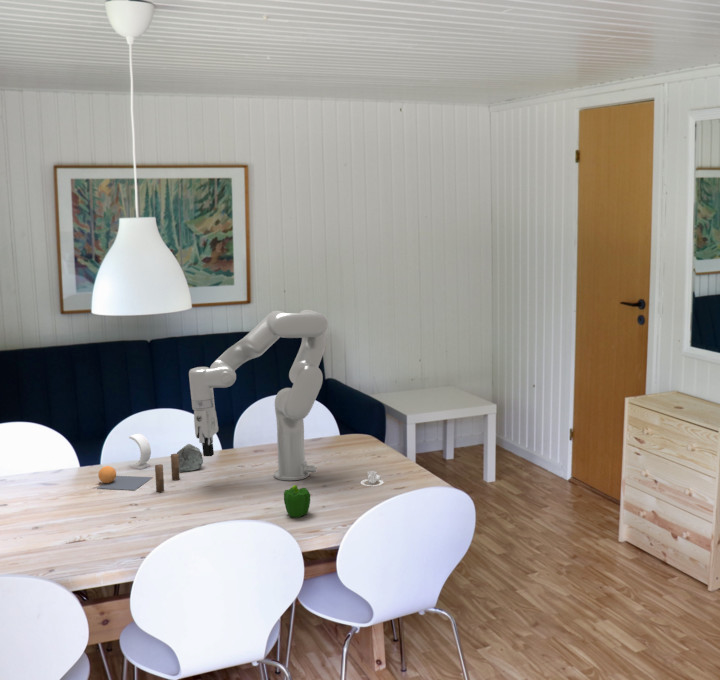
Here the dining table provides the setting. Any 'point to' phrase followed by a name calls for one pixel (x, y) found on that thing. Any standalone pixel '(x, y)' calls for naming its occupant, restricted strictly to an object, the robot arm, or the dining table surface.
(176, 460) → the post right
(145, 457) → the headphone stand
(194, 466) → the stone
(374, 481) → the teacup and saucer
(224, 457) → the dining table surface
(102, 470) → the ball
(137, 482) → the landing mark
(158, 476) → the post left
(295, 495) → the bell pepper
